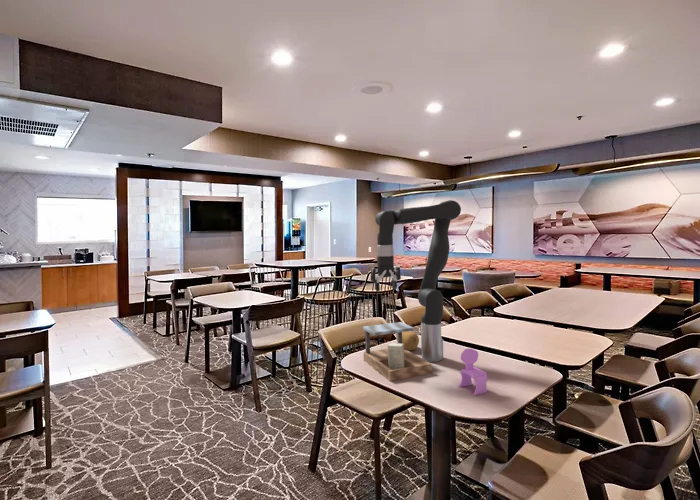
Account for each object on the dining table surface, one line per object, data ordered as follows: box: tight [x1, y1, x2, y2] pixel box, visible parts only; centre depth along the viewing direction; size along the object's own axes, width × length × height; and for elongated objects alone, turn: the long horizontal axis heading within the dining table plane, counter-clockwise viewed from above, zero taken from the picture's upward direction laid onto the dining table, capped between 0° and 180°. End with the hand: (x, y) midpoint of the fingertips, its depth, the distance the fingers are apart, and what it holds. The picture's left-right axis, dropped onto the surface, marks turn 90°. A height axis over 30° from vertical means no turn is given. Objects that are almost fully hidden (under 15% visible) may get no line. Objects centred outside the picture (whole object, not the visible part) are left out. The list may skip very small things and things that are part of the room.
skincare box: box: [387, 342, 405, 370], centre depth 158 cm, size 6×4×12 cm
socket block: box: [362, 321, 433, 382], centre depth 165 cm, size 20×26×16 cm
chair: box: [458, 347, 488, 396], centre depth 140 cm, size 8×9×15 cm
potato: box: [396, 331, 420, 352], centre depth 190 cm, size 9×16×9 cm, turn 18°
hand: (386, 290), depth 170 cm, fingers open, 8 cm apart
